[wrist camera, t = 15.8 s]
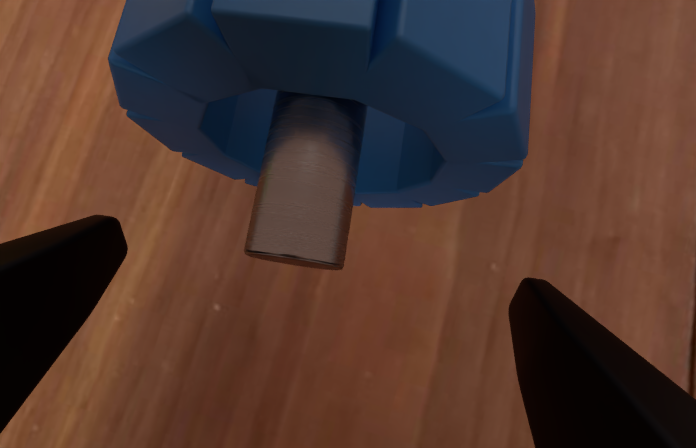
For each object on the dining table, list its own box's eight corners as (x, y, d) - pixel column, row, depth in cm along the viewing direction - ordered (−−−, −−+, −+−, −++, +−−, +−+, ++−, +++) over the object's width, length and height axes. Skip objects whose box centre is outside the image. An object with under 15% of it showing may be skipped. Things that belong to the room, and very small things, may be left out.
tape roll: (453, 220, 10) (667, 62, 3) (218, 187, 10) (-51, -19, 4) (462, 131, 11) (659, -171, 4) (238, 103, 11) (37, -220, 4)
